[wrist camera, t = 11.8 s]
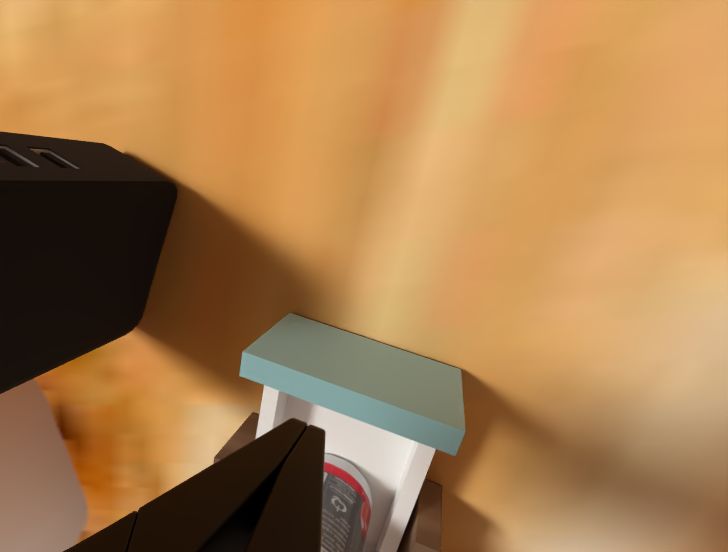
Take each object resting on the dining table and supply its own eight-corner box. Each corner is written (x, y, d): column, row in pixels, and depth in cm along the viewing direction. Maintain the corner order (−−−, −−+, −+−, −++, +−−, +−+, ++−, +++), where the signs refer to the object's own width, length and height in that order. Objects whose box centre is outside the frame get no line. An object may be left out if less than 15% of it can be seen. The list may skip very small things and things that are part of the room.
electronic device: (183, 182, 18) (-117, 181, 8) (139, 329, 21) (-108, 447, 12) (118, 144, 18) (-242, 102, 9) (85, 295, 21) (-197, 383, 12)
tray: (392, 550, 21) (378, 642, 16) (257, 492, 22) (213, 563, 18) (461, 369, 16) (465, 431, 12) (289, 312, 18) (242, 351, 14)
